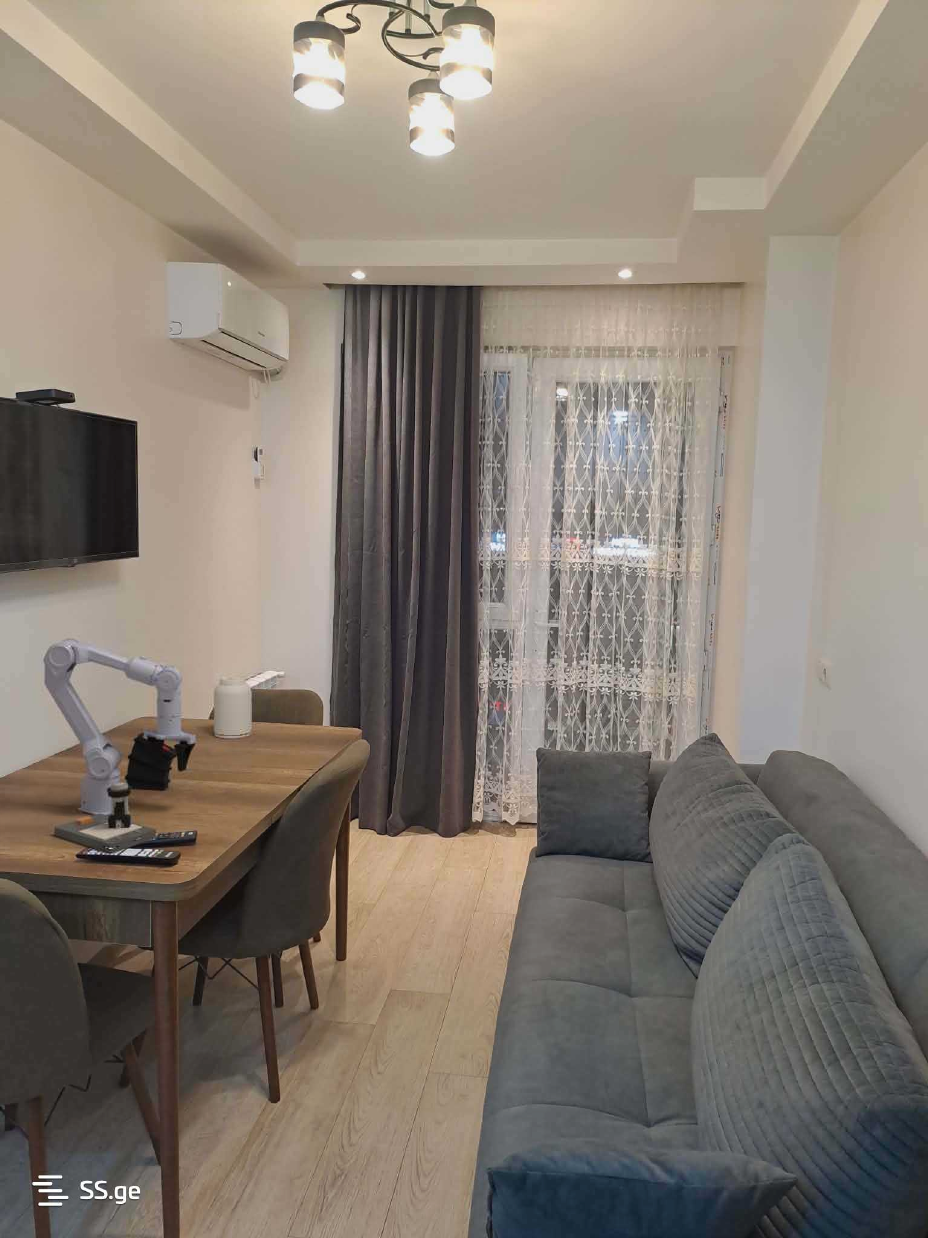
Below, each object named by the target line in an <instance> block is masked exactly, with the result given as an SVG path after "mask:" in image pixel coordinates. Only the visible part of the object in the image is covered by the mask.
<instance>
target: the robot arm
mask: <svg viewBox="0 0 928 1238" xmlns="http://www.w3.org/2000/svg"><path fill="white" fill-rule="evenodd" d="M42 660H43V664H44V679H43V680H44V686H45V687H46V689H47V690H48V692H49V694H50V695H51V697H52V699H53V700H54V702H55V705H57V707H58V709H59V710H60V713H61V714H62V715H63V718H64V719H65V720H66V722H67V724H68V726H69V727H70V728H71V729H72V732H73V733H74V735H75V736H76V738H77V740H78V742H79V743H80V745H81V746H82V757H83V758H84V759H85V762H86V769H87V772H88V774H86V775H84V777H83V779H82V780H81V784H80V797H81V799H80V802H81V803H80V805H81V807H78V811H80V812H85V813H88V814H92V815H96V814H99V813H100V814H104V815H107V816H110V812H111V797H109V796H108V792H107V788H109V787H111V784H113V783H116V782H121V771H120V770H119V767H118V766H120V764H121V762H122V758H123V755H122V752H121V750H120V749H119V748H118V747H117V746H115V745H114V744H112V743H111V741H110V739H109V738H107V737H106V736H104V735H103V734H102V732H101V731H100V729H99V728H98V726H97V724H96V723H95V720H94V719H93V718H92V716H91V714H90V713H89V711H88V709H87V708H86V706H85V705H84V703H83V701H82V700H81V698H80V696H79V694H78V692H77V691H76V689H75V687H74V686H73V685H72V683H71V681H70V679H71V678H72V677H71V676H72V674H73V672H74V668H75V667H76V666H77V665H81V664H85V663H90V662H91V663H95V664H98V665H102V666H104V667H105V666H106V667H108V668H111V669H116V670H119V671H121V672H123V673H124V674H125V676H126V677H127V679H130V680H133V681H136V682H139V683H142V684H144V685H147V686H150V687H155V689H156V690H157V697H156V715H157V716H156V720H157V721H156V722H157V723H156V725H157V727H156V728H157V729H152V728H151V729H150V728H147V729H145V730H143V733H144V738H148V739H147V740H146V741H144V745H145V746H146V748H147V749H148V751H149V753H150V756H151V759H152V762H153V766H154V768H157V767H160V766H161V765H162V750H163V745H164V744H165V741H170V742H177V744H176V743H175V744H174V745H173V747H174V748H173V749H175V751H176V754H177V756H176V759H177V760H176V761H177V770H178V772H184V771H186V769H187V765H188V762H189V758H190V755H191V753H192V751H193V750H194V747H195V746H196V739H197V738H196V734H191V733H187V732H186V731H185V732H184V731H182V696H181V687H180V686H181V684H182V681H183V674H182V672H181V670H180V669H178V668H177V667H175V666H174V665H166V664H165V663H163V662H162V663H161V662H160V663H157V662H154V661H152V660H149V659H147V656H145V655H141V656H136V655H135V656H133V657H132V658H128V657H124V656H122V655H120V654H118V653H114V652H113V651H110V650H107V649H105V648H102V647H99V646H97V645H95V644H92V643H89V642H86V641H82V640H77V639H75V638H65V639H62V640H61V641H60V642H57V643H54V644H52V645H50V646H49V647H48V648H47V651H46V653H45V654H44V657H43V659H42ZM115 801H116V799H115ZM128 809H129V806H128Z"/></svg>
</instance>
